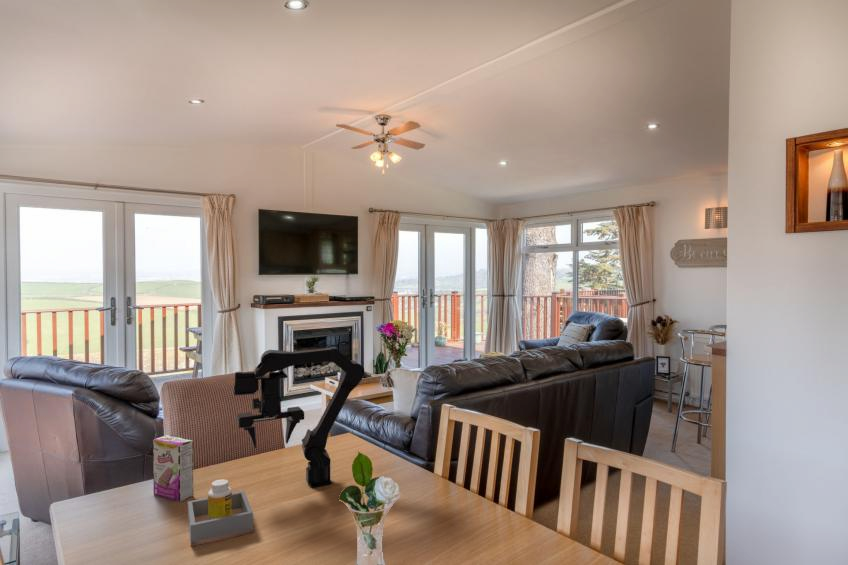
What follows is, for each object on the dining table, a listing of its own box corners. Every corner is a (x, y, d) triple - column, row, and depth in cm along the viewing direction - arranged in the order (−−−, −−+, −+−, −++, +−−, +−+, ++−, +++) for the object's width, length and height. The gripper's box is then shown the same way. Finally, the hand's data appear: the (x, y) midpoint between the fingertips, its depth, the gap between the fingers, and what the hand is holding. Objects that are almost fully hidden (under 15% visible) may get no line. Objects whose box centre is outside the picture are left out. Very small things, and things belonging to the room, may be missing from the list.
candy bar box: (152, 495, 146) (151, 439, 146) (167, 488, 151) (167, 434, 150) (179, 503, 142) (179, 444, 141) (194, 496, 146) (194, 439, 146)
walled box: (244, 509, 138) (244, 490, 138) (252, 532, 126) (252, 512, 126) (187, 520, 132) (187, 501, 131) (190, 546, 119) (190, 525, 119)
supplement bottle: (227, 527, 126) (227, 486, 126) (204, 527, 126) (204, 487, 126) (234, 516, 132) (234, 477, 131) (213, 517, 131) (213, 477, 131)
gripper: (295, 384, 162) (295, 433, 162) (234, 390, 153) (234, 442, 154) (304, 392, 152) (304, 443, 152) (239, 399, 143) (239, 453, 144)
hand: (270, 445), depth 151 cm, fingers open, 9 cm apart
